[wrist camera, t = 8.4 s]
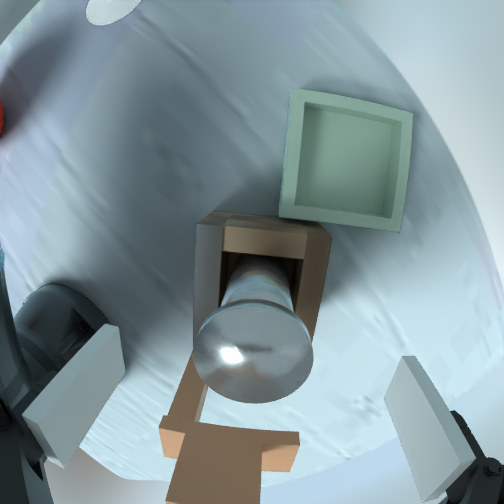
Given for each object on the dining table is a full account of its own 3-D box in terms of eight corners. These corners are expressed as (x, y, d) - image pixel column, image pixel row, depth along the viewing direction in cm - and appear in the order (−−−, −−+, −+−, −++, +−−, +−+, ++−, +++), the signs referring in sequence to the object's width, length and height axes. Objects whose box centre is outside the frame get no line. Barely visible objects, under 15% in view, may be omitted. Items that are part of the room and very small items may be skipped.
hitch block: (206, 344, 29) (193, 383, 23) (213, 210, 25) (196, 223, 19) (294, 354, 29) (299, 394, 23) (317, 221, 25) (332, 238, 19)
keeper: (193, 370, 22) (145, 513, 9) (193, 340, 22) (133, 492, 9) (285, 381, 22) (291, 532, 9) (291, 351, 21) (304, 514, 8)
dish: (278, 211, 25) (279, 217, 22) (289, 97, 22) (292, 87, 19) (386, 225, 25) (399, 232, 22) (398, 118, 22) (413, 113, 19)
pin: (225, 295, 26) (193, 395, 14) (230, 234, 25) (193, 301, 12) (288, 302, 26) (301, 406, 14) (297, 241, 25) (324, 314, 12)
